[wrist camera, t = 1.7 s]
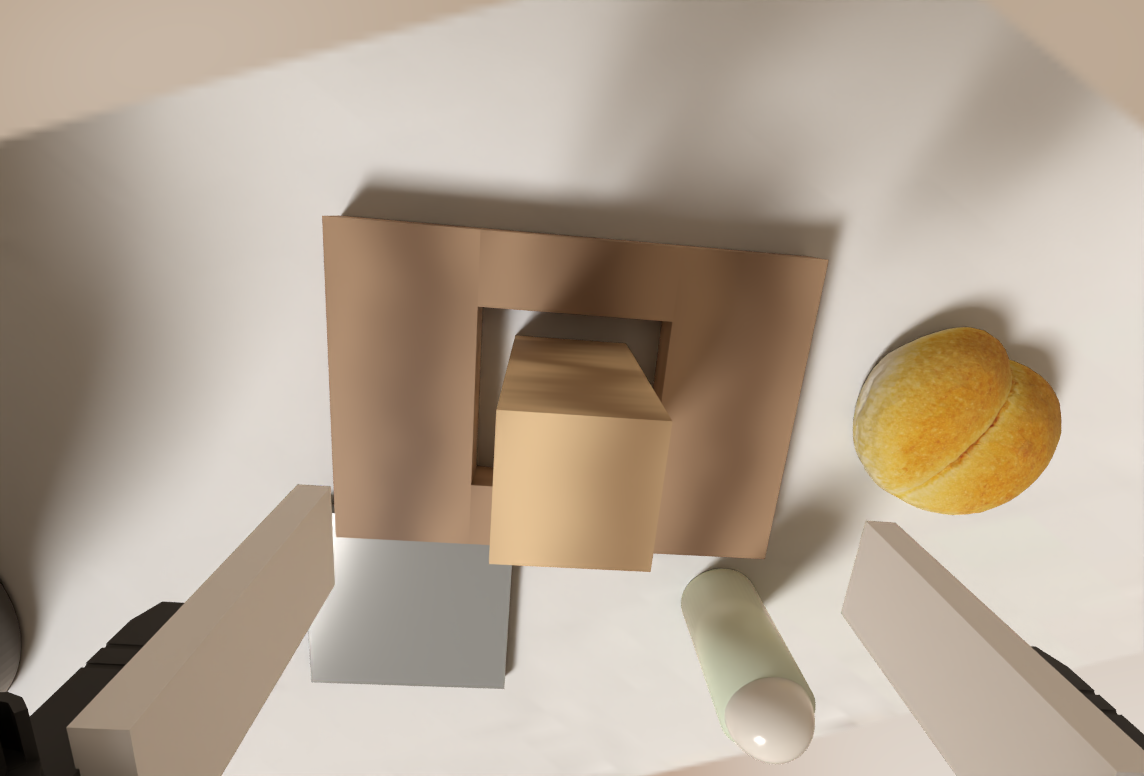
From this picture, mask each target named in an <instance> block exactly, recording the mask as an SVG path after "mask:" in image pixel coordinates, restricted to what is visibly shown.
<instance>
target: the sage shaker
mask: <svg viewBox="0 0 1144 776" xmlns="http://www.w3.org/2000/svg"><path fill="white" fill-rule="evenodd" d="M681 609H682V613H683V616H684V619H685V621H686V624H687V627H688V630H689V633H690V636H691V639H692V642H693V645H694V648H695V651H696V654H697V657H698V660H699V663H700V666H701V669H702V672H703V675H704V678H705V681H706V683H707V686H708V689H709V692H710V695H711V698H712V701H713V704H714V707H715V710H716V713H717V716H718V719H719V722H720V725H721V727H722V730H723V731H724V733H725V734H726V736H727V737H728V738H729V739H730V740H732V741H733V742H735V743H736V744H737V745H738V746H739V748H740V749H742V750H743V751H744V752H745V753H746V754H747V755H749V756H751V757H752V758H754V759H756V760H758V761H761V762H763V763H767V764H775V765H776V764H785V763H789V762H791V761H793V760H795V759H797V758H798V757H799V756H801V755H802V754H803V753H804V752H805V751H806V749H807V748H808V746H809V744H810V743H811V740H812V738H813V734H814V729H815V717H814V713H815V698H814V695H813V693H812V691H811V689H810V688H809V686H808V684H807V682H806V680H805V678H804V677H803V675H802V673H801V671H800V669H799V668H798V666H797V664H796V662H795V660H794V659H793V657H792V655H791V653H790V651H789V649H788V648H787V646H786V644H785V642H784V640H783V639H782V637H781V635H780V633H779V631H778V630H777V628H776V626H775V624H774V622H773V621H772V619H771V617H770V615H769V613H768V611H767V610H766V608H765V606H764V604H763V602H762V601H761V599H760V597H759V595H758V593H757V592H756V590H755V588H754V586H753V584H752V583H751V581H750V580H749V579H748V578H747V577H746V576H745V575H743V574H742V573H740V572H738V571H735V570H732V569H725V568H723V569H713V570H709V571H706V572H704V573H702V574H700V575H698V576H697V577H695V578H694V579H693V580H692V581H691V582H690V583H689V584H688V585H687V587H686V588H685V590H684V592H683V595H682V599H681Z"/></svg>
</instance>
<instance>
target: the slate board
mask: <svg viewBox="0 0 1144 776" xmlns="http://www.w3.org/2000/svg"><path fill="white" fill-rule="evenodd" d="M331 508H332V531H333V553H334V576H335V586H334V587H333V589H332V591H331V592H330V594H329V596H328V597H327V599H326V601H325V602H324V604H323V606H322V607H321V609H320V611H319V613H318V614H317V616H316V618H315V619H314V621H313V623H312V624H311V626H310V628H309V629H308V635H309V651H310V667H311V682H320V683H349V684H378V685H407V686H436V687H465V688H494V689H504V684H505V671H506V655H507V639H508V623H509V607H510V591H511V576H512V565H499V564H489V550H490V545H479V544H459V543H439V542H420V541H400V540H380V539H361V538H341V537H336V532H335V508H334V505H331Z"/></svg>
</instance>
